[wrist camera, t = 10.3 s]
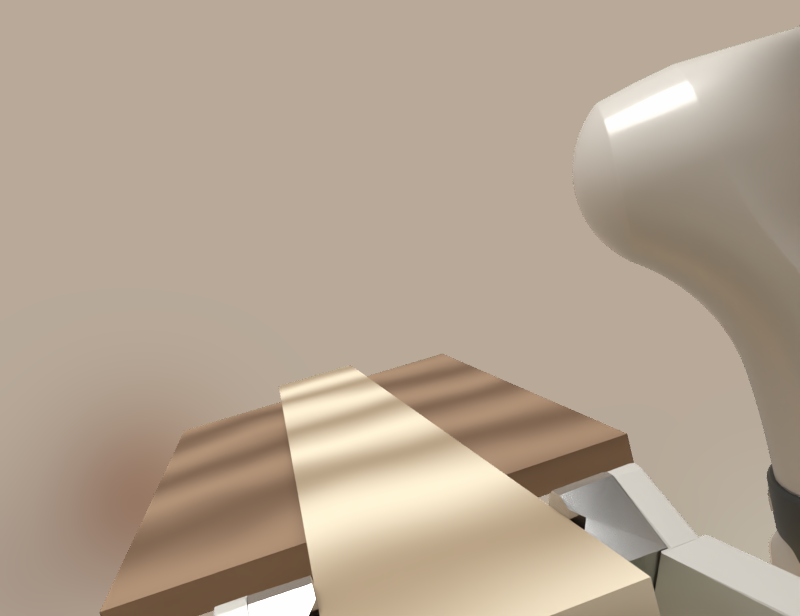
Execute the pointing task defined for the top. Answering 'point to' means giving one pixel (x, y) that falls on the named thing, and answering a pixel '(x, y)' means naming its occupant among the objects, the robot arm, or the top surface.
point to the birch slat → (433, 519)
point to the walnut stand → (278, 497)
